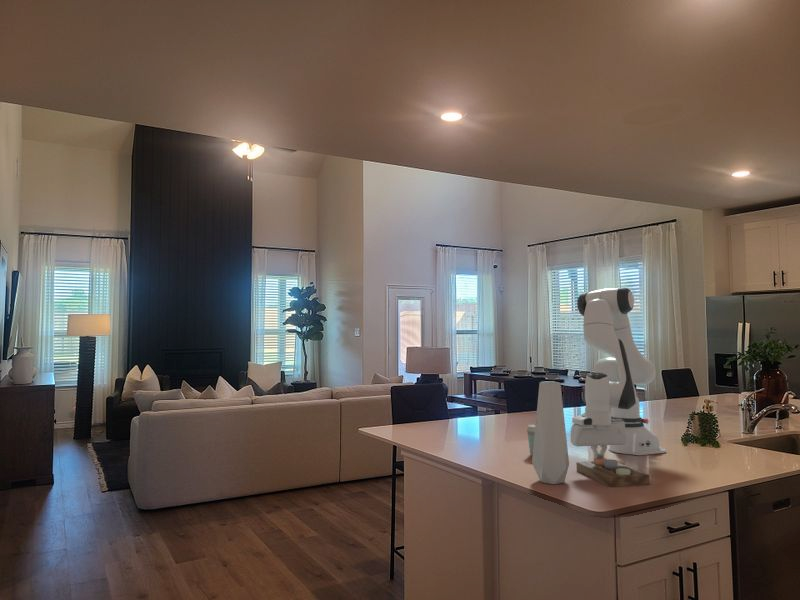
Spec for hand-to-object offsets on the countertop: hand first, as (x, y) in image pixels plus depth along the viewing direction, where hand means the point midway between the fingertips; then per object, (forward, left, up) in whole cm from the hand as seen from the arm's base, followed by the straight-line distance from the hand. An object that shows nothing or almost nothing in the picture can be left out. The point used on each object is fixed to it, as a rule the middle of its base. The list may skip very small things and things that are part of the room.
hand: (599, 458), depth 197 cm
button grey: (0, +7, -2) cm, 7 cm away
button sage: (0, +14, -4) cm, 15 cm away
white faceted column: (+22, +8, -5) cm, 24 cm away
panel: (0, +7, -5) cm, 9 cm away
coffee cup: (+10, -30, -5) cm, 32 cm away
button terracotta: (0, 0, -3) cm, 3 cm away
